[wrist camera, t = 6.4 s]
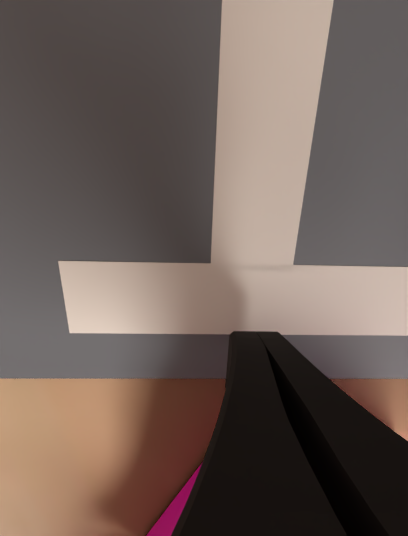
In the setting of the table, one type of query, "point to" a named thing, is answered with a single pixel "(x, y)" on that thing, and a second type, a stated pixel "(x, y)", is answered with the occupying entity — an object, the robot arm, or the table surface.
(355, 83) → the board
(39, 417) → the table surface
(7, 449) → the table surface
